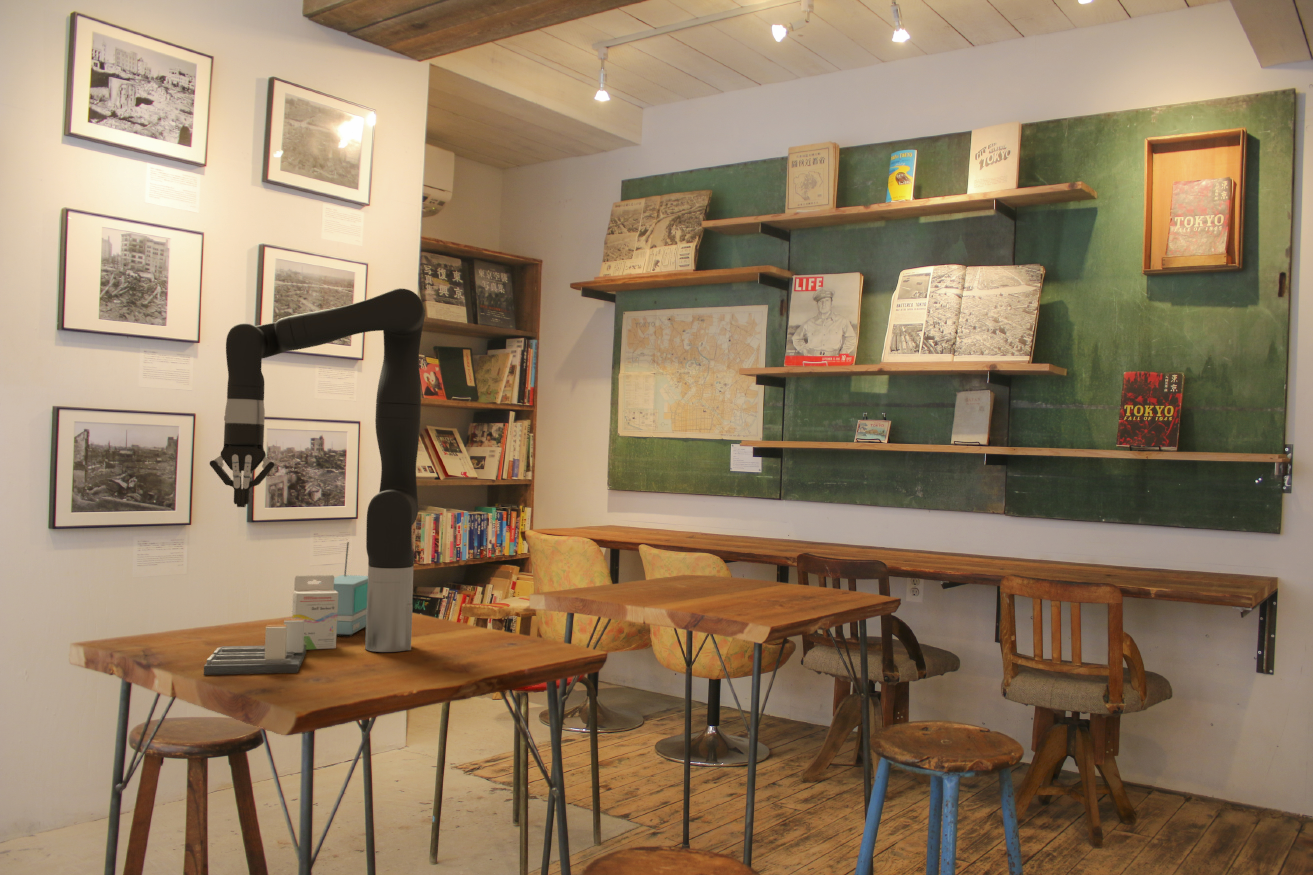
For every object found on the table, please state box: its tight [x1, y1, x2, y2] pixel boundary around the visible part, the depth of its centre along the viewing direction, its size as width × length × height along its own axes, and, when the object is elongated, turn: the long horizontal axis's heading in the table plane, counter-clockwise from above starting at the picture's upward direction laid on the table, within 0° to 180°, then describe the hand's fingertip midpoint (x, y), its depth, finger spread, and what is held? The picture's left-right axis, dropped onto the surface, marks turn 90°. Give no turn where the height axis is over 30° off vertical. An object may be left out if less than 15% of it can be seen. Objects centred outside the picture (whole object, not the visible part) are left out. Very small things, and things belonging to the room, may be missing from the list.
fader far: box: [283, 618, 305, 653], centre depth 195 cm, size 4×3×6 cm
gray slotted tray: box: [203, 645, 307, 676], centre depth 192 cm, size 16×19×2 cm
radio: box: [318, 541, 368, 638], centre depth 230 cm, size 16×9×20 cm, turn 179°
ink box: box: [291, 574, 338, 651], centre depth 210 cm, size 9×5×15 cm, turn 117°
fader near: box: [264, 624, 287, 659], centre depth 188 cm, size 4×3×6 cm
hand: (241, 506), depth 206 cm, fingers closed
